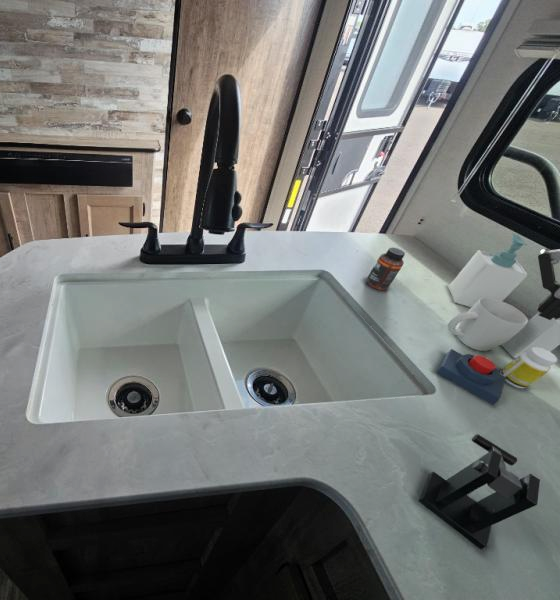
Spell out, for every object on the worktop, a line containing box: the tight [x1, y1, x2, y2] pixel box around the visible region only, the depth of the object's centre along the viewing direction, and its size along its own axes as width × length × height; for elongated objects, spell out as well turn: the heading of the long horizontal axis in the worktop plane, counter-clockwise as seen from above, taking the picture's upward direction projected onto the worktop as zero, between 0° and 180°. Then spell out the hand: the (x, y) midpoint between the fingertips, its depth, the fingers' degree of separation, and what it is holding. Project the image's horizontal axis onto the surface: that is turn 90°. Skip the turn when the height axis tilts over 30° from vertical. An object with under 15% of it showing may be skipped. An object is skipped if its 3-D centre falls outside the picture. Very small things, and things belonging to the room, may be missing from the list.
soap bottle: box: [448, 232, 529, 308], centre depth 87 cm, size 9×9×19 cm
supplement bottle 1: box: [365, 247, 406, 291], centre depth 91 cm, size 6×6×11 cm
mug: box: [447, 298, 529, 352], centre depth 76 cm, size 13×9×10 cm
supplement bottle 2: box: [499, 347, 559, 389], centre depth 68 cm, size 5×5×8 cm
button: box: [469, 354, 496, 374], centre depth 67 cm, size 4×4×2 cm
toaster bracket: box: [418, 450, 541, 550], centre depth 45 cm, size 6×8×12 cm
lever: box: [471, 433, 522, 499], centre depth 46 cm, size 12×5×2 cm, turn 134°
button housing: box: [435, 348, 506, 405], centre depth 69 cm, size 8×10×4 cm
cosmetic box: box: [501, 311, 560, 359], centre depth 74 cm, size 6×4×12 cm
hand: (544, 315), depth 53 cm, fingers closed
